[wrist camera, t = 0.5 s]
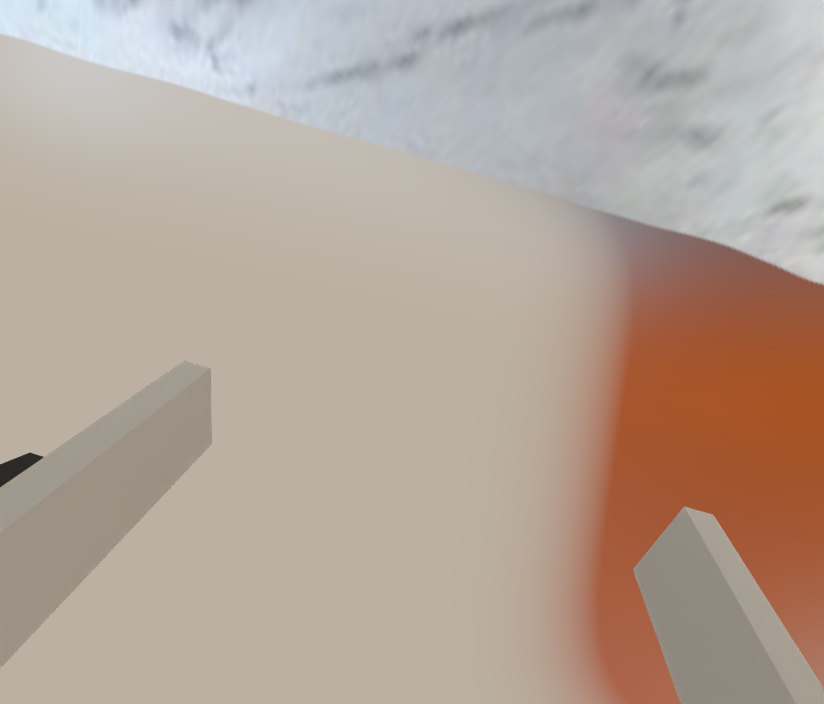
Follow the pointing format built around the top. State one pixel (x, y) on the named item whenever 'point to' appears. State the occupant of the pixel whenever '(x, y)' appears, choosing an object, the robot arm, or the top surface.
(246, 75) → the top surface
